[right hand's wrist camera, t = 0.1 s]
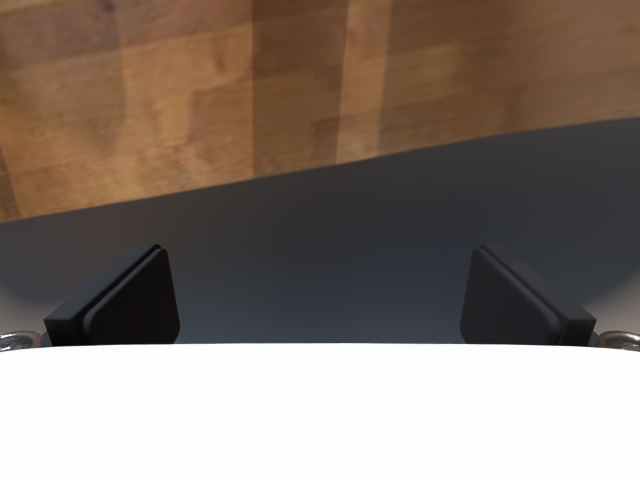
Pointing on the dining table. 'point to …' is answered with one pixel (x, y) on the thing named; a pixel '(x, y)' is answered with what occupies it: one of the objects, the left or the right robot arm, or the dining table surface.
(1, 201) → the dining table surface
